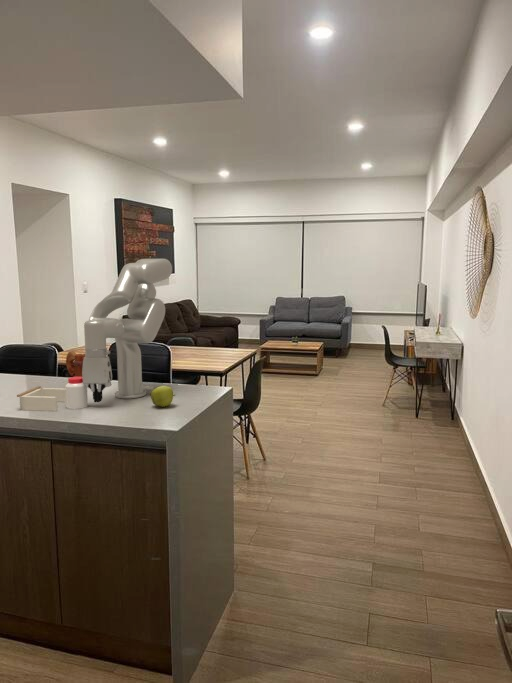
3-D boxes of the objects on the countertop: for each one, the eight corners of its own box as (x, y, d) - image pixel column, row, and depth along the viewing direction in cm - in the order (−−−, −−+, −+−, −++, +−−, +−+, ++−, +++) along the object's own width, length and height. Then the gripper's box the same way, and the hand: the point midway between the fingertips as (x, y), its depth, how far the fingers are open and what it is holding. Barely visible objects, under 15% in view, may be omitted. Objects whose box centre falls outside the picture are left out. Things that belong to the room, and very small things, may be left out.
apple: (178, 407, 191) (178, 386, 190) (155, 410, 186) (154, 389, 185) (171, 402, 198) (170, 382, 197) (148, 405, 193) (147, 385, 192)
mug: (98, 385, 228) (96, 352, 225) (83, 388, 221) (81, 354, 219) (76, 381, 235) (74, 349, 233) (61, 384, 228) (59, 351, 226)
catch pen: (73, 401, 200) (72, 387, 199) (55, 411, 186) (54, 396, 185) (38, 400, 201) (37, 386, 201) (17, 409, 187) (16, 395, 186)
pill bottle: (80, 402, 198) (79, 375, 196) (92, 406, 193) (90, 377, 191) (62, 406, 192) (60, 378, 190) (73, 410, 187) (72, 381, 185)
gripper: (119, 352, 192) (120, 399, 194) (80, 351, 193) (83, 398, 195) (111, 355, 184) (113, 404, 187) (72, 354, 185) (74, 403, 188)
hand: (97, 401), depth 191 cm, fingers closed
